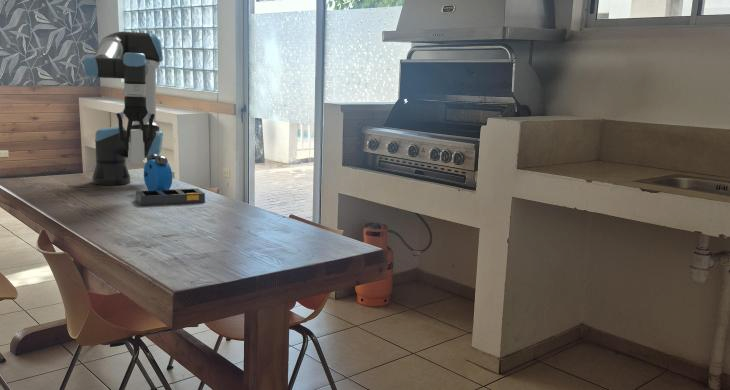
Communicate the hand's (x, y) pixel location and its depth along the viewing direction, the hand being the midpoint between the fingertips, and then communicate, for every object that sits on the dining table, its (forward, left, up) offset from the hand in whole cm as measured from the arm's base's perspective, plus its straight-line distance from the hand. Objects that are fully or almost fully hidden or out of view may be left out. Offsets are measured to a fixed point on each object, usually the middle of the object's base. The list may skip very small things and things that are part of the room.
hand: (136, 159), depth 247 cm
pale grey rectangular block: (0, 0, -1) cm, 1 cm away
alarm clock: (-12, +10, -15) cm, 21 cm away
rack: (+7, +11, -15) cm, 20 cm away
